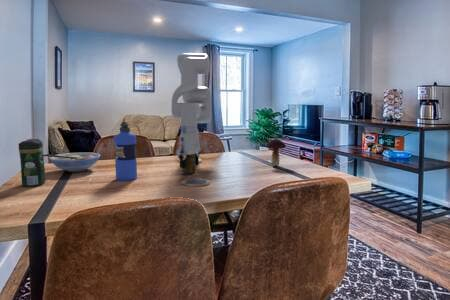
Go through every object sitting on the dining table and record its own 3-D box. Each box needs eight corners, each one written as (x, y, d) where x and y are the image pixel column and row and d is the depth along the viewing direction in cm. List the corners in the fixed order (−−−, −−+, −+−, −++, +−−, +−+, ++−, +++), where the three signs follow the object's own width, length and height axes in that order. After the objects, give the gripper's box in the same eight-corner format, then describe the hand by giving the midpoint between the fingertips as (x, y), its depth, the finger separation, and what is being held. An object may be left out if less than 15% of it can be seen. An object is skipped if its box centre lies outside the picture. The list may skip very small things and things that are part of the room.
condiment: (193, 171, 161) (193, 147, 159) (199, 175, 153) (199, 149, 151) (179, 172, 157) (179, 148, 156) (185, 176, 150) (184, 150, 148)
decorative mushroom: (276, 169, 167) (277, 140, 165) (260, 166, 175) (261, 138, 173) (289, 166, 174) (290, 139, 172) (273, 163, 182) (274, 137, 180)
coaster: (175, 183, 136) (175, 182, 136) (194, 178, 146) (194, 176, 146) (197, 188, 129) (197, 186, 129) (215, 182, 139) (215, 180, 139)
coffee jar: (27, 181, 137) (23, 138, 134) (48, 180, 139) (44, 137, 136) (18, 187, 128) (14, 140, 125) (41, 186, 130) (37, 140, 127)
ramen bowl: (112, 168, 165) (111, 152, 164) (75, 178, 144) (73, 160, 143) (77, 164, 175) (76, 149, 174) (37, 172, 155) (36, 155, 154)
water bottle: (125, 182, 138) (123, 123, 135) (111, 179, 143) (108, 122, 140) (141, 177, 146) (140, 122, 142) (127, 175, 151) (125, 121, 147)
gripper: (182, 131, 143) (182, 170, 145) (206, 129, 157) (206, 164, 160) (170, 130, 147) (170, 168, 150) (194, 128, 161) (195, 162, 164)
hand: (189, 166), depth 155 cm, fingers open, 8 cm apart
